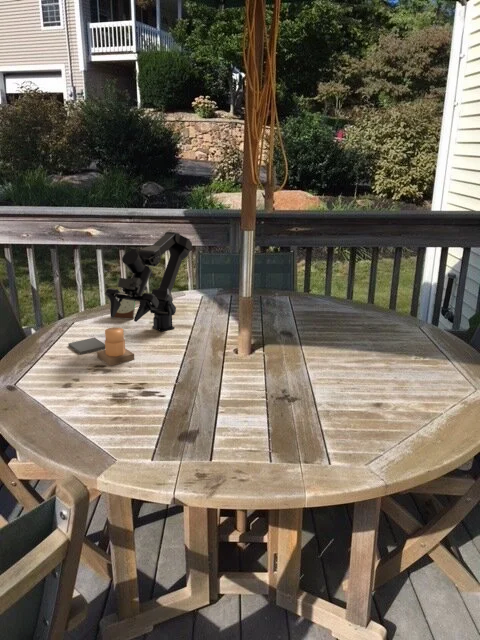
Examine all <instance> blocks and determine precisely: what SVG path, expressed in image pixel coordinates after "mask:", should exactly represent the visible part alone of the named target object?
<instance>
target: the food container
mask: <svg viewBox="0 0 480 640" xmlns="http://www.w3.org/2000/svg"><path fill="white" fill-rule="evenodd" d="M119 292H120V293H123V294H125V292H123V291H122V290H121V291H119ZM106 300H107V302H108V305H109V313H110V314H111V302H110V300H109V299H108V297H107V296H106ZM120 304H121V305H120V307H119V309H118V311H117V312H116V314H115V316H114V317H113V318H112V319H120V318H125V319H124V320H134V318H135V312H136V311H135V307H136V301H133V300H125V299H122V302H120Z"/></svg>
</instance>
